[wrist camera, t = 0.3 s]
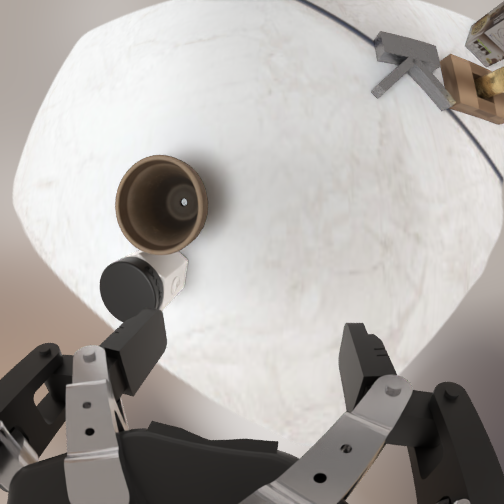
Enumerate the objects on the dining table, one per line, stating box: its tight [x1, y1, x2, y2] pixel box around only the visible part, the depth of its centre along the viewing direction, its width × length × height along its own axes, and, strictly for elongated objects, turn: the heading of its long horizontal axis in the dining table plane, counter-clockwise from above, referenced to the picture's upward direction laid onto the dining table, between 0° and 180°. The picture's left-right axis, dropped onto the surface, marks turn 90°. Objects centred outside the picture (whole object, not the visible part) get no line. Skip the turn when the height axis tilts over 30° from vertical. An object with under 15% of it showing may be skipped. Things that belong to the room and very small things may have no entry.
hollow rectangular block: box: [440, 54, 504, 124], centre depth 28 cm, size 9×13×4 cm
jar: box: [100, 250, 188, 322], centre depth 36 cm, size 9×8×12 cm
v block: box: [371, 31, 456, 111], centre depth 30 cm, size 11×14×4 cm
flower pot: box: [115, 155, 208, 255], centre depth 35 cm, size 12×11×10 cm
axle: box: [474, 67, 504, 99], centre depth 22 cm, size 4×4×16 cm
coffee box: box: [465, 2, 504, 67], centre depth 19 cm, size 9×6×16 cm
